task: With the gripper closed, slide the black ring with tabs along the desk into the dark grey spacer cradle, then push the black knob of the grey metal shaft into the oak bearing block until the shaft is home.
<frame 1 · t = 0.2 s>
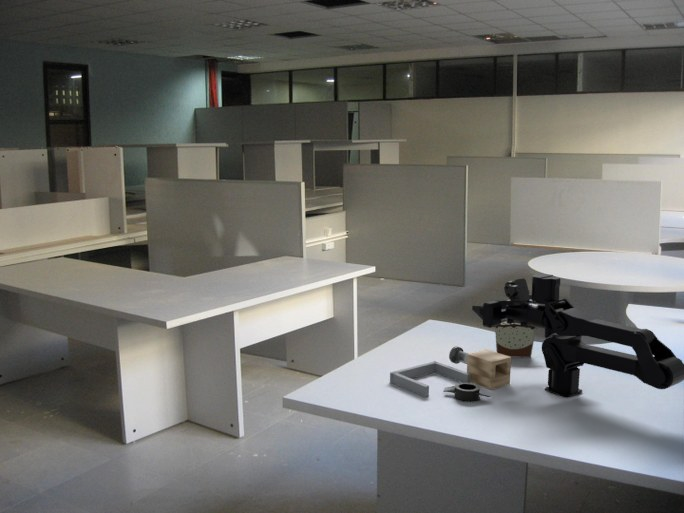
hand: (484, 305, 186), 17 cm above the table, tool horizontal, fingers open, 9 cm apart
black ring with tabs: (466, 399, 164), on the table
shaft: (472, 360, 178), point 4 cm above the table, slide at 5.0 cm
bearing block: (488, 382, 175), on the table
food container: (512, 354, 199), on the table
spacer cradle: (429, 382, 174), on the table
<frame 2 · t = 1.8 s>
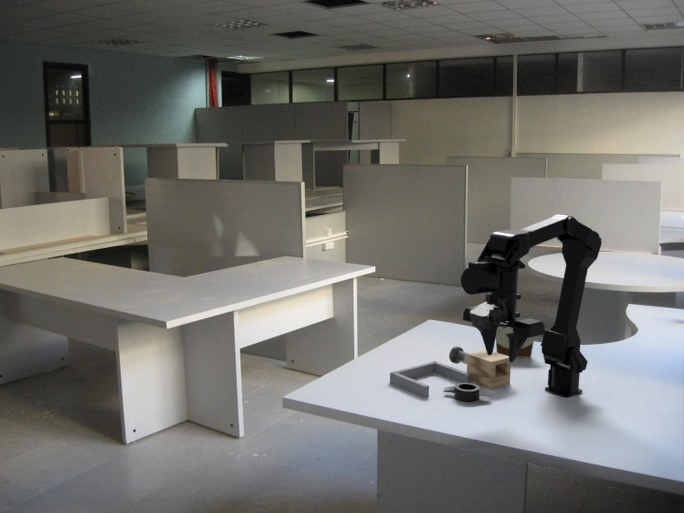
hand: (500, 358, 155), 12 cm above the table, tool pointing down, fingers open, 6 cm apart
nothing on the table moved.
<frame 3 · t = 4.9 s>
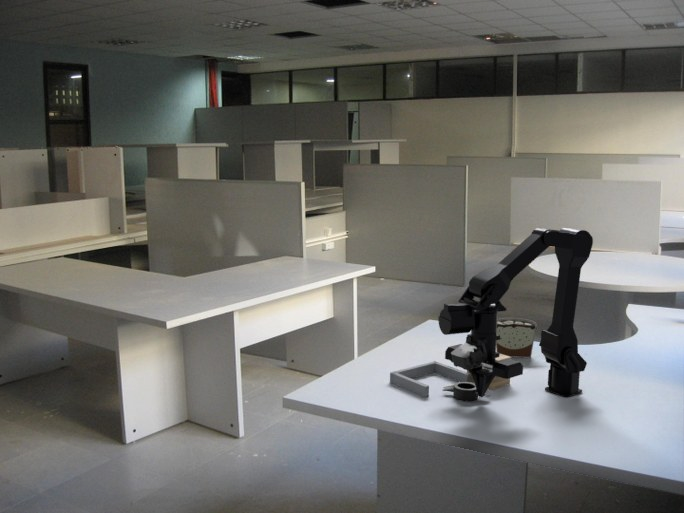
hand: (481, 396, 161), 2 cm above the table, tool pointing down, fingers closed
black ring with tabs: (465, 398, 165), on the table, touching gripper
everything else where it was.
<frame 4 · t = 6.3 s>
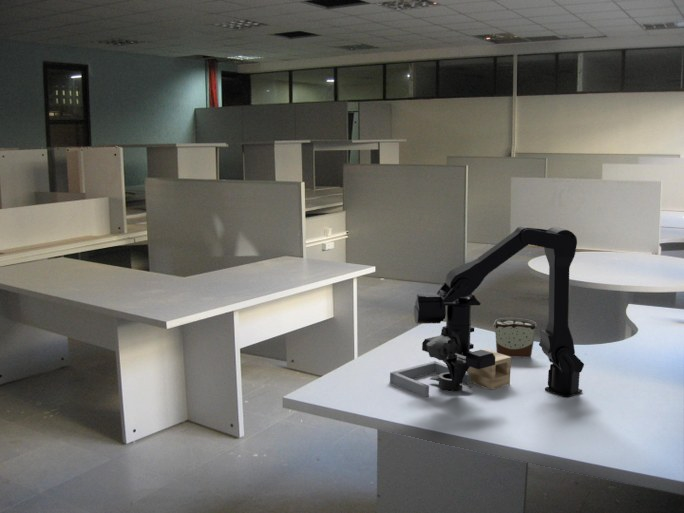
hand: (456, 386, 167), 2 cm above the table, tool pointing down, fingers closed
black ring with tabs: (450, 388, 171), on the table, touching gripper
everything else where it was.
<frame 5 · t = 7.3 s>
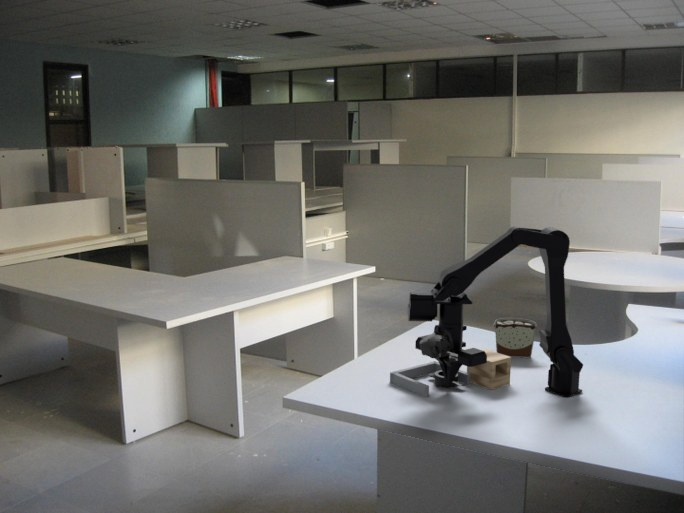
hand: (448, 384, 169), 2 cm above the table, tool pointing down, fingers closed
black ring with tabs: (445, 385, 174), on the table
everything else where it was.
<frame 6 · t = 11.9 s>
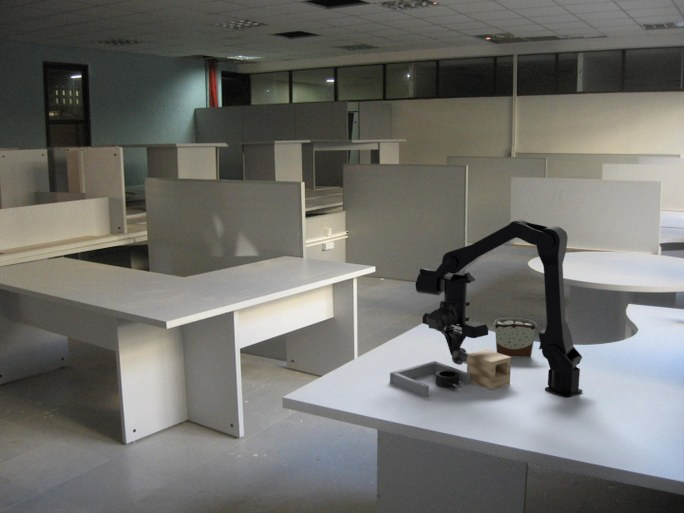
hand: (453, 355, 184), 4 cm above the table, tool pointing down, fingers closed
shaft: (475, 361, 178), point 4 cm above the table, slide at 4.0 cm, touching gripper
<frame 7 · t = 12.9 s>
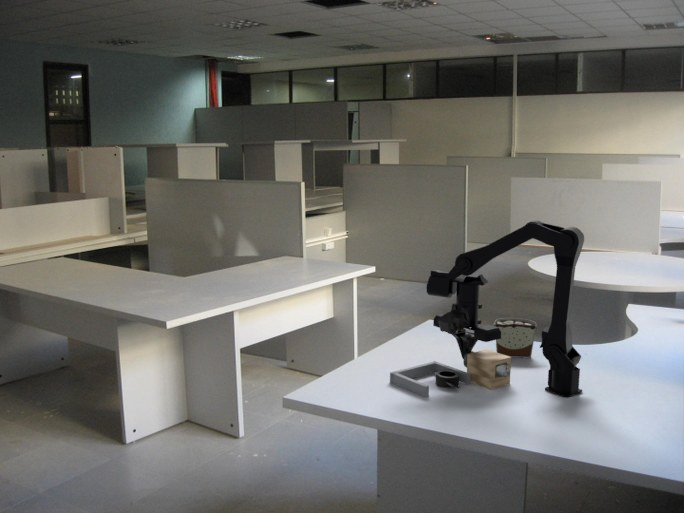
hand: (464, 359, 180), 4 cm above the table, tool pointing down, fingers closed
shaft: (487, 365, 174), point 4 cm above the table, slide at 0.0 cm, touching gripper
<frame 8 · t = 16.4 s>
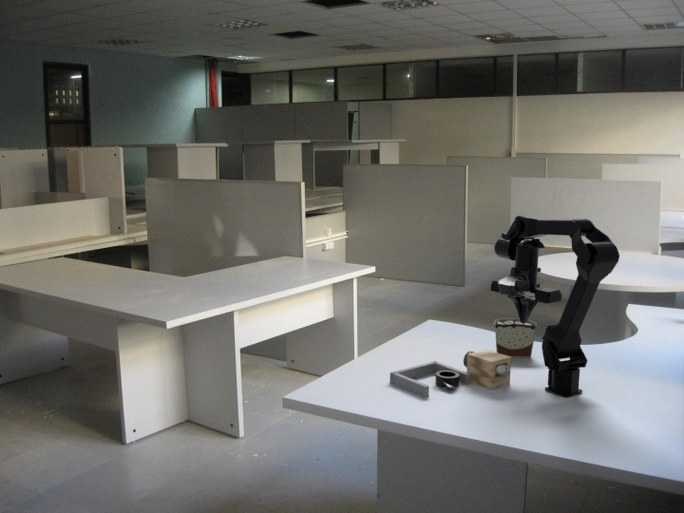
hand: (523, 322, 182), 13 cm above the table, tool pointing down, fingers closed
shaft: (487, 365, 174), point 4 cm above the table, slide at 0.0 cm
at the end: shaft slide at 0.0 cm; black ring with tabs inside the target area (4.1 cm from its centre), on the table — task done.
